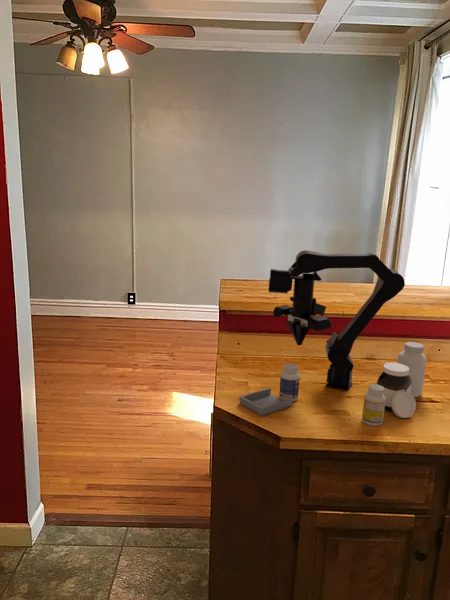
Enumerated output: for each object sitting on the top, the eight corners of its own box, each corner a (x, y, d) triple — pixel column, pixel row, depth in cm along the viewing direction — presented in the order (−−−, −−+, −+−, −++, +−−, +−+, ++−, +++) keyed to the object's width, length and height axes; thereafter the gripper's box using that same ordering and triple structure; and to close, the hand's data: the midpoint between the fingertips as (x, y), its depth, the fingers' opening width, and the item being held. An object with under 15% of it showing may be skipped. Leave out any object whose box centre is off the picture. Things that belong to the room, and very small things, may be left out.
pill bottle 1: (297, 403, 150) (299, 370, 147) (278, 400, 151) (280, 368, 148) (298, 395, 155) (301, 363, 152) (280, 393, 156) (282, 361, 153)
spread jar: (388, 397, 156) (392, 359, 153) (425, 410, 149) (430, 370, 146) (366, 408, 148) (370, 368, 145) (404, 423, 140) (409, 381, 137)
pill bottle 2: (423, 390, 162) (429, 343, 158) (420, 400, 155) (427, 350, 151) (395, 385, 165) (401, 338, 162) (391, 394, 158) (398, 346, 154)
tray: (269, 394, 154) (269, 387, 154) (291, 406, 147) (292, 399, 147) (239, 403, 147) (239, 396, 147) (261, 416, 141) (261, 408, 140)
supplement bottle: (377, 428, 137) (381, 393, 135) (358, 421, 140) (361, 387, 138) (386, 421, 141) (390, 387, 139) (367, 414, 144) (371, 381, 142)
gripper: (346, 297, 155) (341, 349, 159) (299, 285, 169) (296, 332, 173) (319, 302, 148) (315, 356, 152) (273, 288, 162) (270, 338, 166)
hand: (299, 345), depth 161 cm, fingers closed
